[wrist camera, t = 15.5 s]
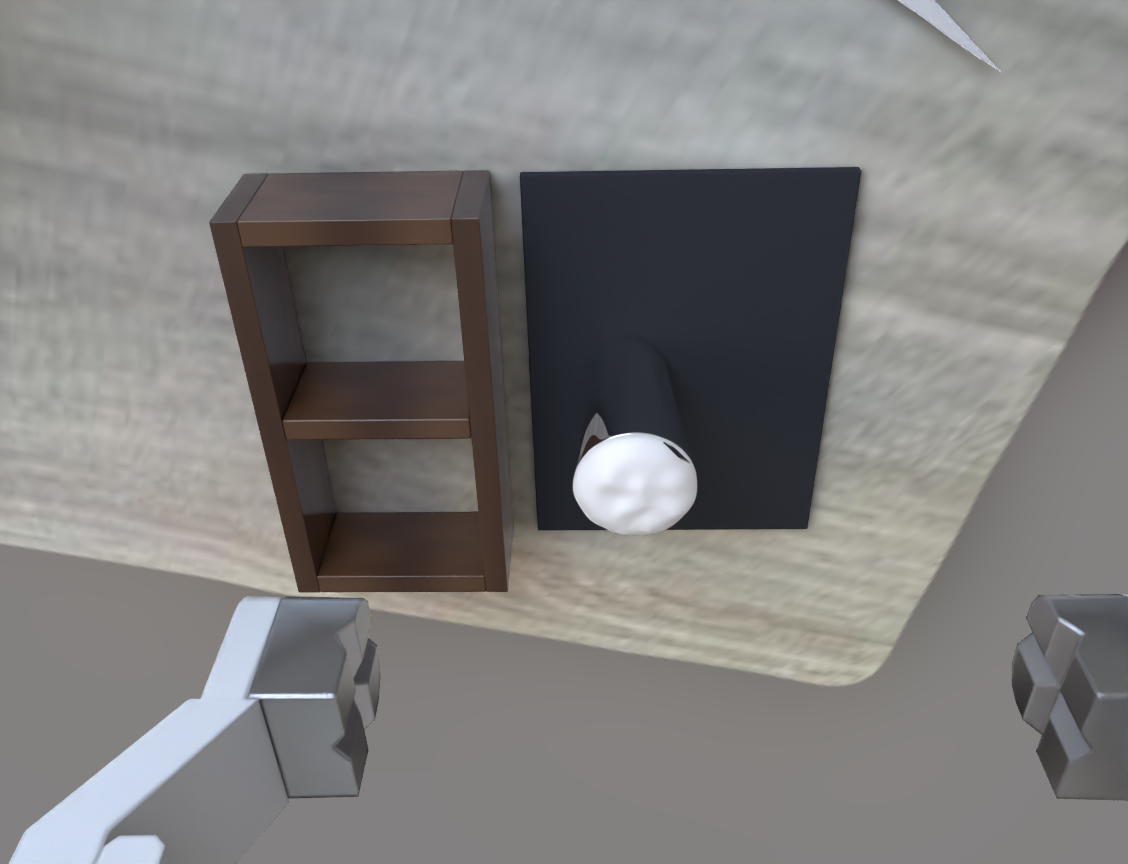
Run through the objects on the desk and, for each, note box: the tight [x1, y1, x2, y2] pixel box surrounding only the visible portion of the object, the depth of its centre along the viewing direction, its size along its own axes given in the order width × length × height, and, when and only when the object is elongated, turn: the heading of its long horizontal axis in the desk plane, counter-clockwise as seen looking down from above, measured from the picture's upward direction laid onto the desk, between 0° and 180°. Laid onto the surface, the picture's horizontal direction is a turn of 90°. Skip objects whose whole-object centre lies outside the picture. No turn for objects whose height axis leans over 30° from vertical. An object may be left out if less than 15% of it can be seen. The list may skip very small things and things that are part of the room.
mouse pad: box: [520, 167, 861, 530], centre depth 45 cm, size 13×18×1 cm
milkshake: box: [573, 338, 697, 535], centre depth 40 cm, size 5×5×10 cm
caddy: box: [209, 170, 514, 592], centre depth 43 cm, size 10×18×4 cm, turn 1°
